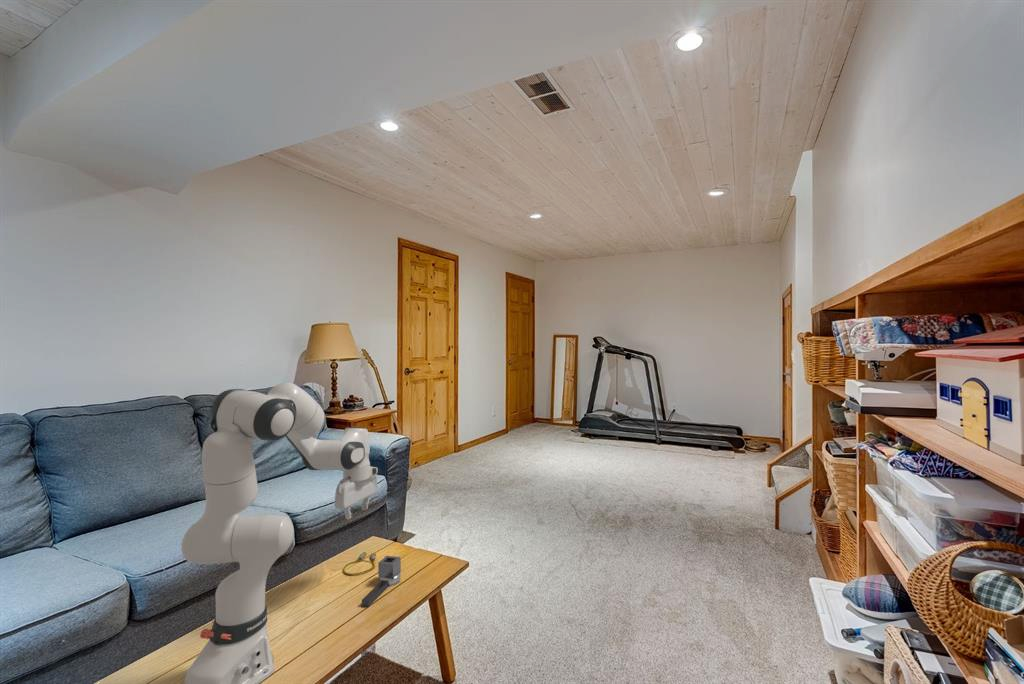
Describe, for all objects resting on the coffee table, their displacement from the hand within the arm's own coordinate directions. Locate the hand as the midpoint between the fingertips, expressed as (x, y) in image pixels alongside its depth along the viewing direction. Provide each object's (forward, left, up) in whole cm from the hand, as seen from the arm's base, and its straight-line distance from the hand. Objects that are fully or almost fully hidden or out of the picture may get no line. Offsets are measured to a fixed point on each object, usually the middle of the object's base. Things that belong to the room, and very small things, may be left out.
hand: (357, 514), depth 159 cm
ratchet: (-1, -9, -25) cm, 27 cm away
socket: (+5, -9, -23) cm, 25 cm away
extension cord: (+14, +7, -26) cm, 30 cm away
